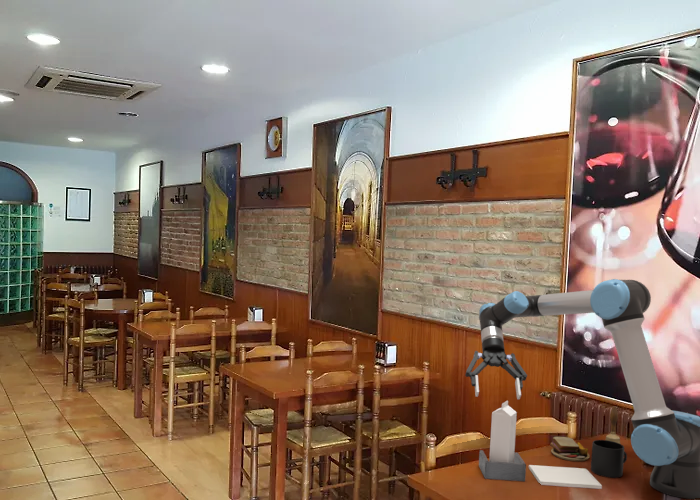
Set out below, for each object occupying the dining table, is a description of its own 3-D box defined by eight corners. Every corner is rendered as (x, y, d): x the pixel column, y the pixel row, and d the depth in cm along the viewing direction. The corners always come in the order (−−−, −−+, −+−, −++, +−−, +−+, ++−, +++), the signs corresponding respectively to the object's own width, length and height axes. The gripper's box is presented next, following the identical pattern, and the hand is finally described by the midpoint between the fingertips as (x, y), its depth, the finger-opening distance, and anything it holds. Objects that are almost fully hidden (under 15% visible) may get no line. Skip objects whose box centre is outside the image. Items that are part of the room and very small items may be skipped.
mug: (636, 477, 199) (637, 448, 199) (603, 478, 196) (605, 449, 196) (615, 466, 208) (617, 438, 208) (584, 467, 205) (586, 440, 205)
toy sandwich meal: (557, 461, 211) (558, 447, 210) (545, 448, 224) (546, 435, 224) (595, 463, 210) (595, 449, 210) (580, 450, 224) (581, 437, 224)
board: (585, 471, 201) (585, 468, 201) (601, 488, 187) (601, 485, 187) (528, 468, 202) (528, 464, 202) (540, 484, 188) (540, 481, 188)
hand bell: (595, 450, 224) (598, 405, 224) (606, 446, 230) (608, 402, 229) (618, 457, 218) (621, 411, 218) (629, 452, 224) (631, 407, 223)
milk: (513, 472, 197) (518, 402, 197) (507, 478, 192) (512, 405, 192) (494, 467, 200) (499, 398, 200) (487, 473, 195) (492, 402, 195)
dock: (516, 468, 201) (517, 452, 201) (525, 481, 190) (526, 464, 190) (478, 465, 201) (479, 450, 201) (484, 478, 190) (485, 462, 190)
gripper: (526, 351, 224) (534, 404, 209) (455, 346, 225) (458, 399, 211) (530, 338, 219) (539, 392, 204) (458, 333, 220) (461, 386, 205)
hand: (498, 395), depth 207 cm, fingers open, 13 cm apart
